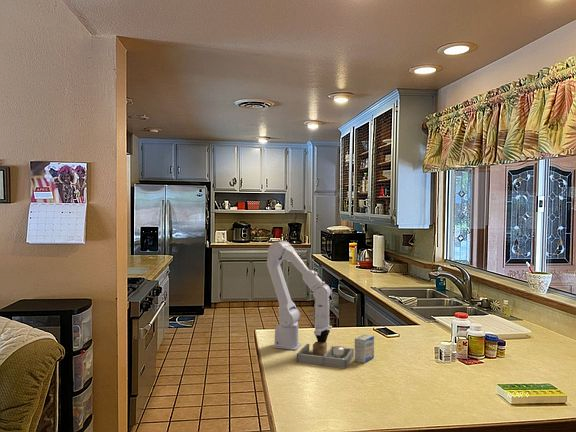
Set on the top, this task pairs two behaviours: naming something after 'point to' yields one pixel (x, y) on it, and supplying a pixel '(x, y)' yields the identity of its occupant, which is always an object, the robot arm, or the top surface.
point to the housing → (325, 357)
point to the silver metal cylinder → (338, 352)
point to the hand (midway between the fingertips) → (321, 348)
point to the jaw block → (319, 348)
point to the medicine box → (364, 348)
